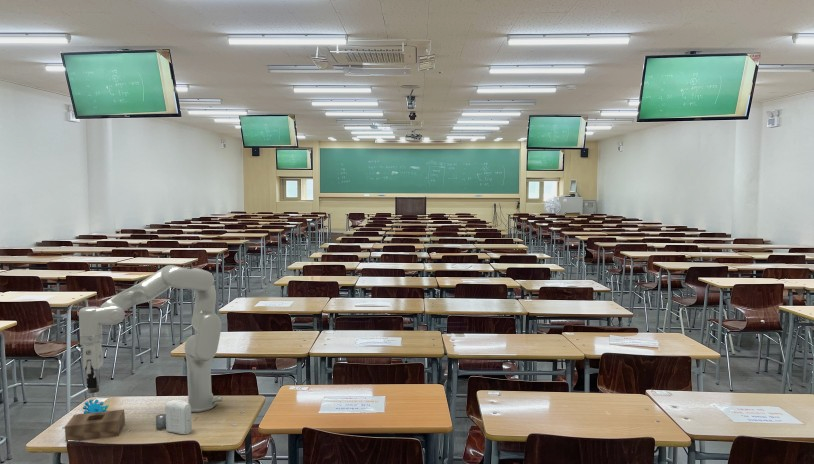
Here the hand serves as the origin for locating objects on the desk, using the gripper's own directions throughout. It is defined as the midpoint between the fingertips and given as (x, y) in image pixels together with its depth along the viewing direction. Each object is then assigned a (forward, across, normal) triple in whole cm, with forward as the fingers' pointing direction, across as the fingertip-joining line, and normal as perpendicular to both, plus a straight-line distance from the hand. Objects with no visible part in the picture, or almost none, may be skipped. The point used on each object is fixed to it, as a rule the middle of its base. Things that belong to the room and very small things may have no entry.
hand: (93, 385), depth 221 cm
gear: (+19, +17, +3) cm, 25 cm away
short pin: (+19, -3, -24) cm, 31 cm away
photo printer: (+19, -9, -31) cm, 37 cm away
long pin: (+2, 0, 0) cm, 2 cm away
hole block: (+19, 0, 0) cm, 19 cm away
